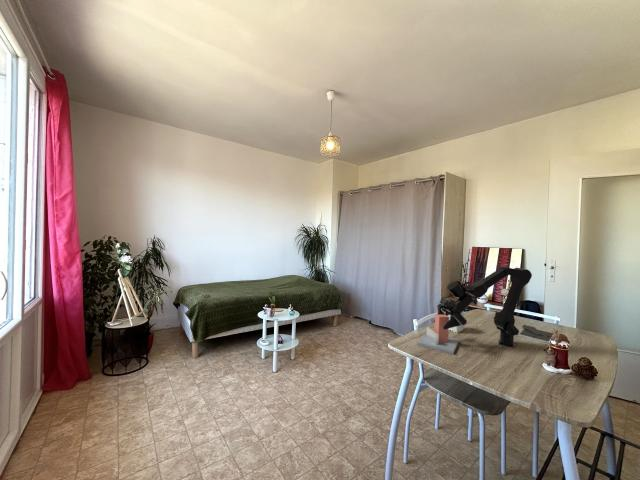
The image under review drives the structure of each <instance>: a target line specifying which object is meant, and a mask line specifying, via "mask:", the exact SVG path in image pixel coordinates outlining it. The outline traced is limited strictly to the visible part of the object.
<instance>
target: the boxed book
mask: <svg viewBox="0 0 640 480" xmlns="http://www.w3.org/2000/svg"><path fill="white" fill-rule="evenodd" d="M434 320H435V322H434V331H435V332H436V333H438V334H439V341H438V342H448V337H449V329H445V330H444V329H443V327H444V326H445V325H446V323H447V322H448V321H449V317H448V316H446V315H437V314H434Z"/></svg>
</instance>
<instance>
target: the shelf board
mask: <svg viewBox="0 0 640 480" xmlns="http://www.w3.org/2000/svg"><path fill="white" fill-rule="evenodd" d="M459 343H460V339H459V338H456V337H451V336H448V342H438V345H436V344H435V343H433V342H432V341H431V340H430V339H429V338H428V337H427V331H425V333H424V334H423V335H422V336H421V337H420V339H419V340H417V342H416V346H418V345H420V346H419V347H422V346H424V347H423V348H426V347H427V348H426V349H430V348H431V350H433V349H434V350H433V351H438V352H440V353H441V352H442V353H445V354H449V355H454V353H455V351H456V349H457V347H458V345H459Z"/></svg>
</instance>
